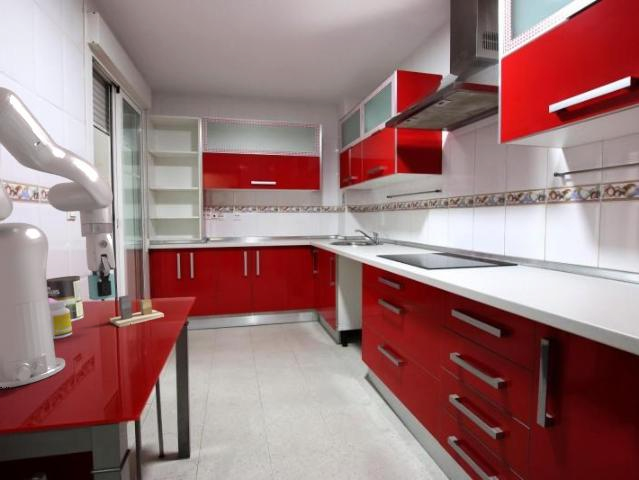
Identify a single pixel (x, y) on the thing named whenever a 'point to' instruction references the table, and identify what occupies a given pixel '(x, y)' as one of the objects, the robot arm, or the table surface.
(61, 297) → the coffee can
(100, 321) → the table surface
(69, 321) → the supplement bottle
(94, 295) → the pale teal cube
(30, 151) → the robot arm
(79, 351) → the table surface
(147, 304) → the post stand
